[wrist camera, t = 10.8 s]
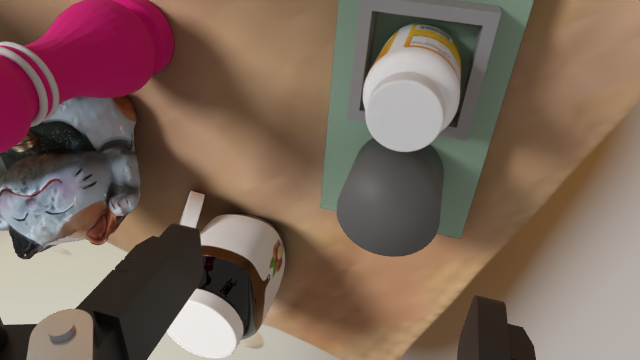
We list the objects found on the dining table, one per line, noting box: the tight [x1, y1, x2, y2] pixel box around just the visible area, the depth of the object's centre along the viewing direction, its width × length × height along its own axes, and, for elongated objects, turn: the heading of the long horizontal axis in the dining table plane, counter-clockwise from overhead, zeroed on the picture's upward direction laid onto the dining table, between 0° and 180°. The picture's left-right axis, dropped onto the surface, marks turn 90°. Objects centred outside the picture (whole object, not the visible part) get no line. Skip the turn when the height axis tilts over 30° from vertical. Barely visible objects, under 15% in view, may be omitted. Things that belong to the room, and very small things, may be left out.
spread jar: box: [167, 191, 286, 359], centre depth 42 cm, size 12×11×12 cm
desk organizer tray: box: [320, 0, 534, 256], centre depth 31 cm, size 20×12×8 cm, turn 176°
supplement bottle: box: [363, 22, 461, 152], centre depth 27 cm, size 5×5×10 cm
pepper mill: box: [0, 0, 174, 153], centre depth 30 cm, size 7×7×20 cm
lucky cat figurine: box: [0, 95, 141, 259], centre depth 40 cm, size 15×12×14 cm
